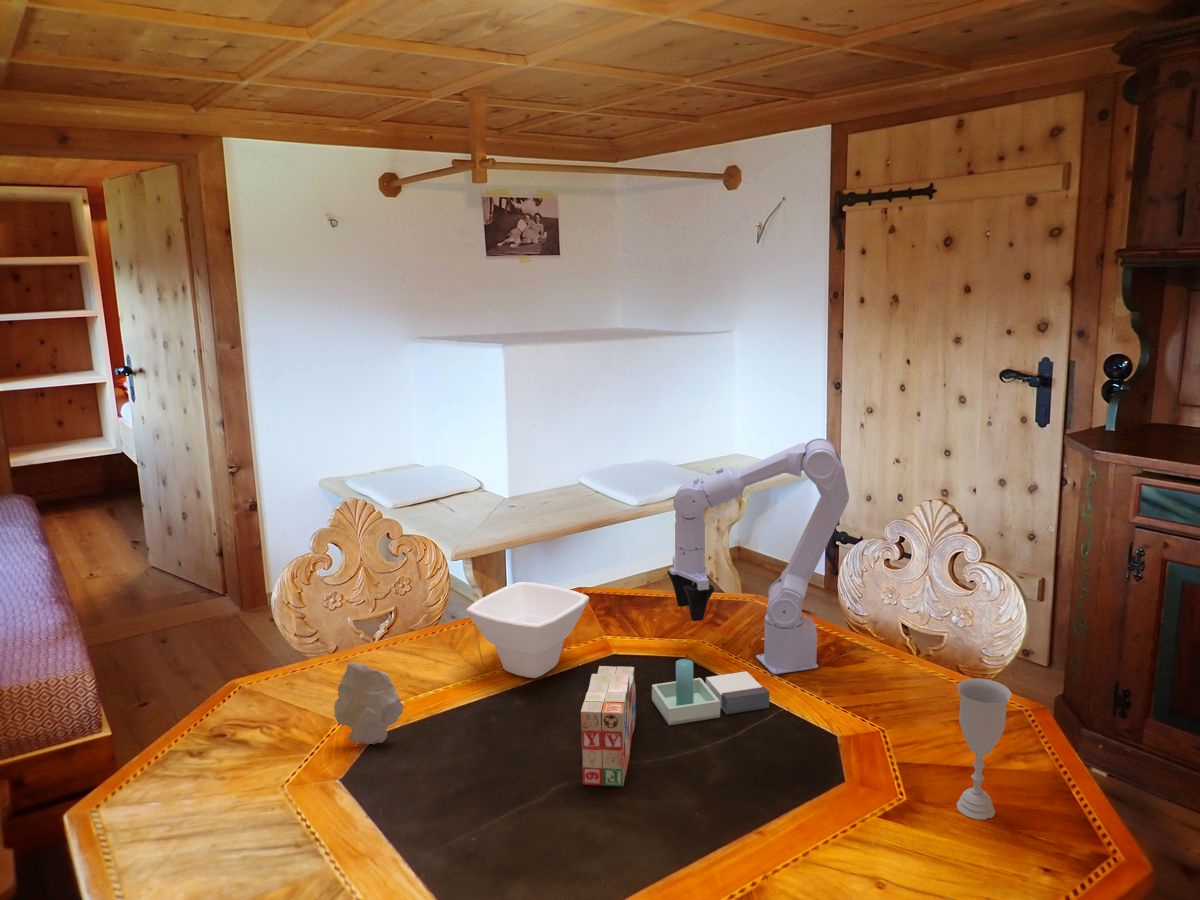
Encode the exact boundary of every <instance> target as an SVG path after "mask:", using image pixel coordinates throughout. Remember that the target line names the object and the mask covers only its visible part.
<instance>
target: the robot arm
mask: <svg viewBox="0 0 1200 900" xmlns="http://www.w3.org/2000/svg"><path fill="white" fill-rule="evenodd" d="M802 471H803V472H804V474H805V476H806V477H807V478H808V479H809V480H810V481H811V482H812V483H813V484H814V485H815V486H816V489H817V491H818V494H819V495H820V497H819V499H818V501H817V504H816V506H815V508H814V510H813V511H812V513H811V515H810V517H809V520H808V522H807V524H806V525H805V529H804V530H803V531H802V534H801V536H800V538H799V541H798V543H797V545H796V547H795V550H794V551H793V553H792V556H791V557H790V560H789V562H788V563H787V566H786V567H785V569H783V570H782V572H781V574H780V576H779V577H778V579H777V580H775V581H774V582H773V583H772V584H771V585H770V586H769V587H768V589H767V591H768V592H767V598H768V599H767V600H768V603H767V607H766V614H765V616H764V651H763V652H764V653H762V654H756V656H755V658H756V659H757V660H758V661H759V662H760V663H761V664H762V665H763V666H764V667H765V668H766V669H767V670H768V671H769V672H770V673H771V674H773V675H780V674H786V673H793V672H799V671H808V670H813V669H818V668H819V665H818V664H817V660H818V659H817V657H818V656H817V655H818V653H817V652H818V651H817V650H818V631H817V627H816V625H815V622H814V620H813V619H812V618H811V617H809V616H803V615H802V611H803V609H802V605H803V601H804V599H805V596H806V594H807V591H808V590H807V589H808V586H809V583H810V581H811V578H812V576H813V574H814V572H815V570H816V568H817V566H818V564H819V562H820V560H821V558H822V556H823V554H824V552H825V550H826V548H827V547H828V546H827V545H828V544H829V542H830V540H831V537H832V536H833V533H834V531H835V529H836V527H837V526H838V523H839V521H840V520H841V517H842V515H843V513H844V511H845V509H846V507H847V504H848V502H849V500H850V494H849V493H850V492H849V488H848V484H847V478H846V473H845V467H844V463H843V461H842V457H841V455H840V453H839V452H838V450H837V448H836V447H835V445H834V443H832V442H831V441H829V440H828V439H826V438H822V437H821V438H820V437H819V438H814V439H810V440H809V441H808V442H807V443H805V442H801V443H797V444H796V445H793V446H790V447H788V448H786V449H784V450H782V451H779V452H777V453H774V454H772V455H770V456H768V457H766V458H763V459H762V460H760V461H757V462H755V463H752V464H751V465H747V466H746V467H744V468H742V469H740V470H739V469H735V468H732V467H727V468H724V467H723V466H720V467H718V468H716V469H715V472H714V473H712V474H710V475H707V476H705V477H703V478H699V477H696V478H694V479H693V480H692V482H685V483H683V484H681V485H680V486H679V488H678V489H677V491H676V493H675V495H674V497H673V503H672V505H673V510H674V511H675V513H674V517H675V522H674V556H673V557H672V566H673V567H669V570H668V571H667V572H666V574H667V575H668V577H669V579H670V581H671V583H672V587H673V590H674V594H675V599H676V603H677V606H678V607H679V608H681V607H689V615H690V618H691V619H690V620H691V621H692V622H697V621H703V620H704V617H705V613H706V609H707V606H708V603H709V600H710V598H711V596H712V594H713V593H714V591H715V586H713V585H712V584H709V583H710V582H709V581H710V579H709V578H708V576H707V567H706V523H705V519H704V518H705V516H704V515H705V509H710V508H714V507H716V506H718V505H721V504H724V503H725V502H728V501H732V500H734V499H737V498H739V497H741V496H742V495H743V493H744V489H745V488H746V487H748V486H752V485H755V484H757V483H759V482H763V481H765V480H769V479H771V478H774V477H777V476H779V475H782V474H788V475H793V476H796V477H800V478H802Z"/></svg>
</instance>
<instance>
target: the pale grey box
mask: <svg viewBox="0 0 1200 900" xmlns="http://www.w3.org/2000/svg"><path fill="white" fill-rule="evenodd" d="M705 684H706V685H707V686H708V687H709V688H710V690H711V691H712V692H713V693H714V694H715V696H716V697H717V698H718V699H719V700H720V710H722V693H726V692H733V691H740V690H746V689H753V688H759V687H763V686H762V685H761V684H760V683H759V682H758V681H757V680H756V679H755V678H754V677H753V676H752V675H751V674H750V673H749V672H748V671H740V672H733V673H726V674H719V675H714V676H713V675H712V676H706V677H705Z"/></svg>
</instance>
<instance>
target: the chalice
mask: <svg viewBox="0 0 1200 900" xmlns="http://www.w3.org/2000/svg"><path fill="white" fill-rule="evenodd" d="M956 688H957V690H958V692H959V695H960V703H959V704H960V706H959V717H958V718H959V719H958V722H959V725H960V729H961V732H962V734H963V737H964V740H965V741H966V744H967V746H968V748H969V750H970V751H971V752H972V753H974V754H975V759H974V762H972V766H973V767H974V773H973V774H971V776H970V777H971V779H972V780H973V787H969V788H967V789H965V790H964V791H963V792H962V794H961V795H960V797H959V799H958V801H957V802H956V805H957V806H956V808H957V811H959V812H960V813H961V814H963V815H964V816H966V817H969V818H972V819H975V820H988V819H987V818H990V819H992V818H993V817H994V816H995V815H996V810H995V808H994V805H993V802H992V798H991V797H990V795H989V794H988V793H987V792H986V791H984V789H982V786H981V785H982V782H983V781H984V780H985V778H986V777H984V775H983V773H982V772H983V769H984V768H985V767H986V765H985V764H984V756H986V755H989V754H991V752H992V750H993V749H994V748H995V746H996V745H997V744H998V742H999V740H1000V739H1001V737H1002V735H1003V732H1004V731H1005V729H1006V715H1007V714H1006V713H1007V705H1008V704H1007V703H1008V701H1009V700H1010V699H1011V697H1012V691H1011V690H1010V689H1009V688H1008V687H1007V686H1006V685H1004V684H1002V683H1000V682H997V681H994V680H991V679H986V678H978V677H977V678H967V679H964V680H961V681H960V682H958V683H957V687H956ZM994 814H995V815H994Z"/></svg>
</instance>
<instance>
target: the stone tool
mask: <svg viewBox="0 0 1200 900" xmlns="http://www.w3.org/2000/svg"><path fill="white" fill-rule="evenodd" d="M336 689H337V693H338V694H337V696H338V698H337V699H336V700H335V702H334V706H333V707H334V708H333V709H334V716H333V717H335V720H336V722H337V724H339V725H340V726H348V727H349V728H350V729H351V732H350V733H349V735H348V739H349V741H351V743H358V744H365V745H368V746H369V744H373V745H375V744H377V743H378V744H382V743H384V742H385V741H386V739H387V737H388V732H387V729H388V728H389V726H391V725H394V724H395V723H396V722H398V719H399V718H400V717H401V715H402V714H403V712H404V711H403V710H404V704H402V702H401V699H400V697H399V694H398V692H397V691H396V688H395V686H394V684H393V683H392V680H391V678H390V676H389V675H388V674H387V672H385V671H380V670H375V669H373V668H372V667H369V666H368V665H367V664H365V663H364V664H358V663H355V662H353V661H349V663H348V664H347V667H346V670H345V672H344V674H343V675H342V677H341V679H340V682H339V685H338V686H337V688H336Z"/></svg>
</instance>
